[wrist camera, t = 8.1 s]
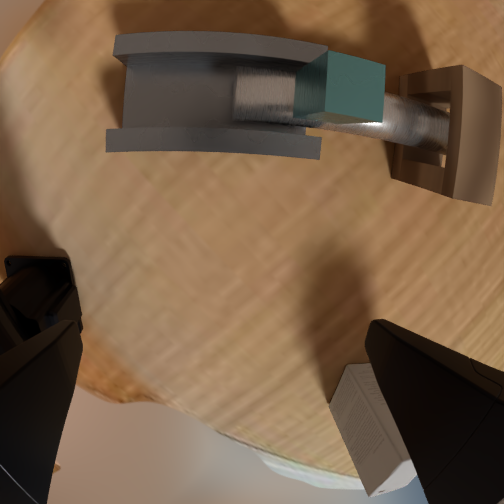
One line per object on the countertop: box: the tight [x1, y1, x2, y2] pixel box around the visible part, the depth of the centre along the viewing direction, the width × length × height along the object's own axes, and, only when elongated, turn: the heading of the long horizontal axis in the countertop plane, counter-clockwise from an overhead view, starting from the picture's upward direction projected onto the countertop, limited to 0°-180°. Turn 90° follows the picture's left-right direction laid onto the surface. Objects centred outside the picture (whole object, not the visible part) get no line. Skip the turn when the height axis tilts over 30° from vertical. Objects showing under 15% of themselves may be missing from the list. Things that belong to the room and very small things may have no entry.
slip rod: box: [232, 50, 450, 155], centre depth 14 cm, size 15×3×8 cm, turn 86°
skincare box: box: [329, 363, 417, 497], centre depth 23 cm, size 6×4×12 cm
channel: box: [106, 31, 328, 160], centre depth 16 cm, size 11×6×4 cm, turn 86°
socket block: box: [391, 65, 502, 206], centre depth 17 cm, size 4×8×7 cm, turn 176°
